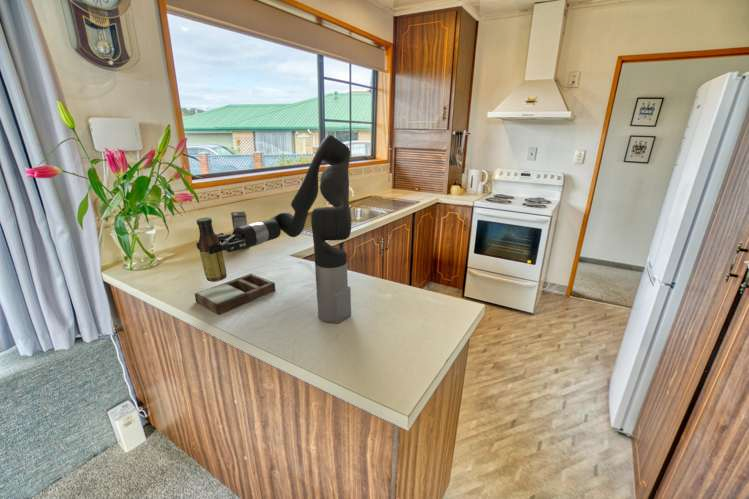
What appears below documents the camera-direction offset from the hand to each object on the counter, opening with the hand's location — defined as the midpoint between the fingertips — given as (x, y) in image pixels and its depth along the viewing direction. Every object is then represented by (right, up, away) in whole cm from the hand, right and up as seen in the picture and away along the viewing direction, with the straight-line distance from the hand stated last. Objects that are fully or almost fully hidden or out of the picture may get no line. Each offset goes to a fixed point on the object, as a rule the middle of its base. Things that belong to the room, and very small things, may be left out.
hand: (203, 248), depth 103 cm
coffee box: (-13, +1, +64) cm, 65 cm away
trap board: (+5, -16, +13) cm, 21 cm away
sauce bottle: (+1, -10, +6) cm, 11 cm away
